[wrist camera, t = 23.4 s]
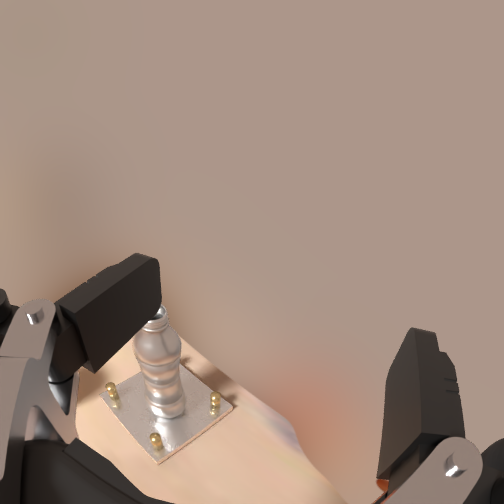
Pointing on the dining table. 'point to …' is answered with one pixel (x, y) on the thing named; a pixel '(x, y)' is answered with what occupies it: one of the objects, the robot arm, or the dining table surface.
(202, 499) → the dining table surface
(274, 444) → the dining table surface
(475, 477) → the robot arm
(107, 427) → the dining table surface
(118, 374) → the dining table surface
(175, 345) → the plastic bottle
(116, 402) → the plate
